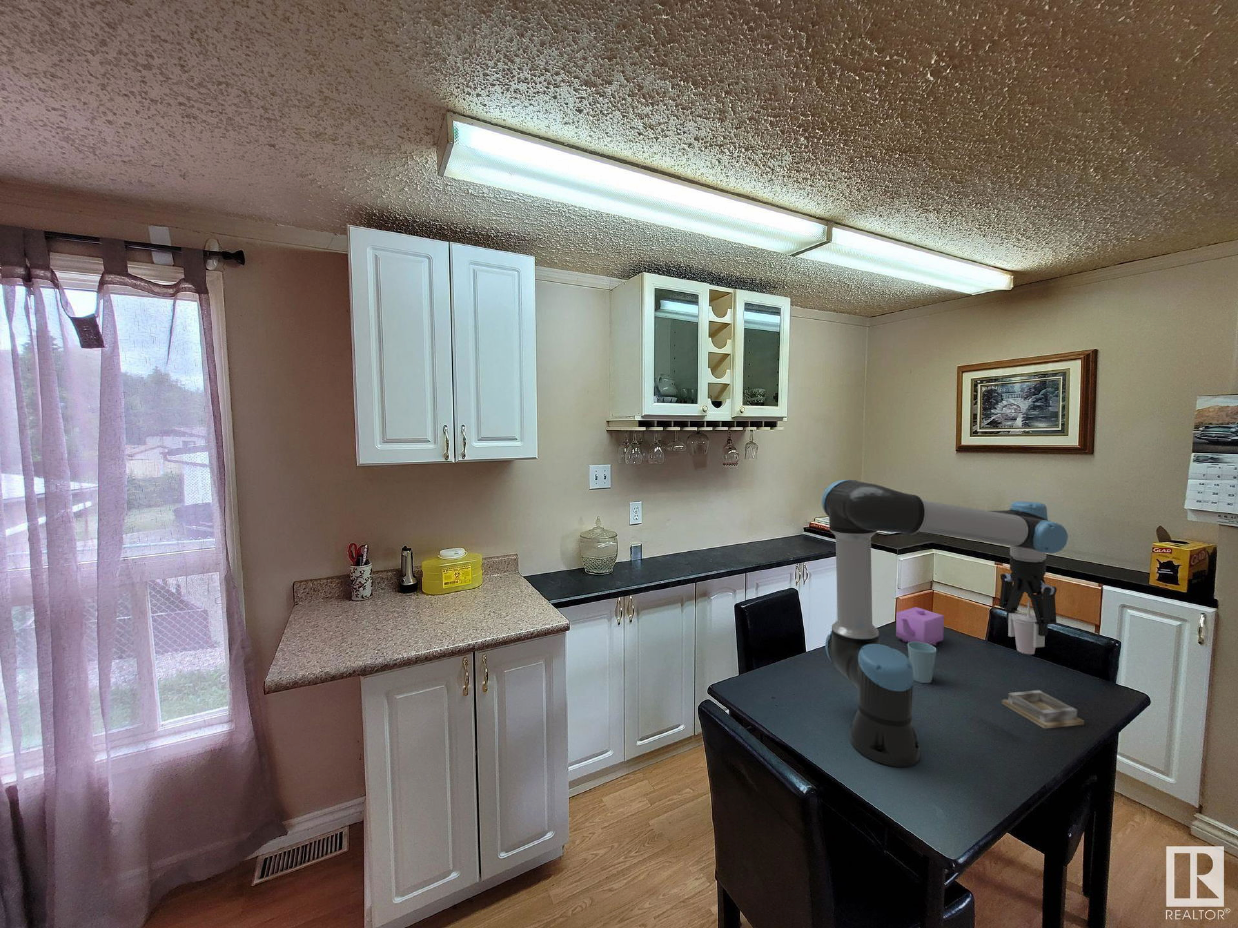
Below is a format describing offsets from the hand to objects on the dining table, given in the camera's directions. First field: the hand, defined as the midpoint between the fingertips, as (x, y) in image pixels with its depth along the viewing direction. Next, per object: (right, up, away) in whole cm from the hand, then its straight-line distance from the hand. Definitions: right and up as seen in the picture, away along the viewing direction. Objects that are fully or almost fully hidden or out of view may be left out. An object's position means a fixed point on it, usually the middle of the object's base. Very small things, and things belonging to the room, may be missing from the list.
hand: (1025, 640), depth 132 cm
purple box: (-2, -18, +45) cm, 48 cm away
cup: (-17, -19, +19) cm, 32 cm away
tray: (+4, -20, -1) cm, 20 cm away
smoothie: (0, -3, 0) cm, 3 cm away
